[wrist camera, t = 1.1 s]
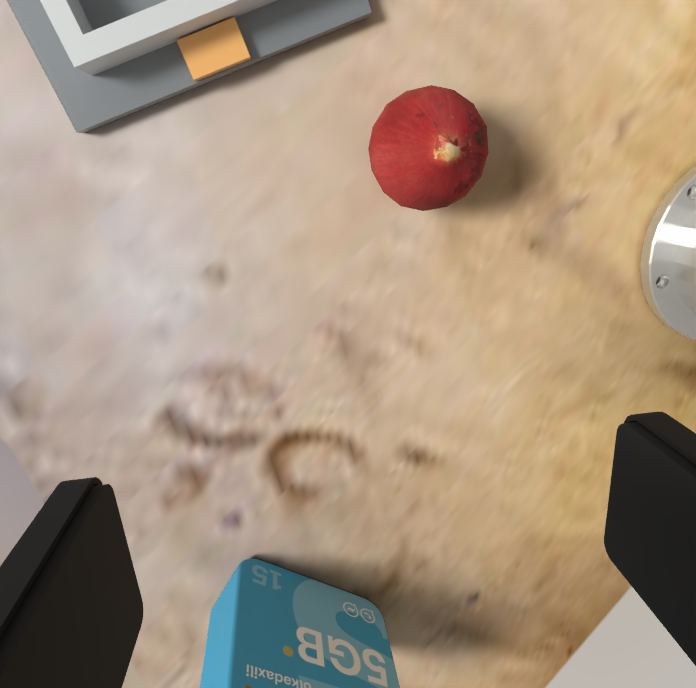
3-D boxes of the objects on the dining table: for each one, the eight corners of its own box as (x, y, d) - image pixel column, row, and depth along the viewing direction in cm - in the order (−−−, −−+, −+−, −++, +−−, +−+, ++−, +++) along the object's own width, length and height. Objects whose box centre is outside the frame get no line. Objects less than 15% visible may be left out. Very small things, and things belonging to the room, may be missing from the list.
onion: (454, 86, 29) (516, 61, 21) (464, 193, 31) (524, 204, 23) (351, 106, 29) (377, 87, 21) (368, 212, 31) (398, 230, 23)
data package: (381, 602, 41) (421, 772, 29) (351, 644, 42) (380, 823, 30) (240, 550, 37) (224, 719, 26) (211, 596, 38) (185, 778, 27)
